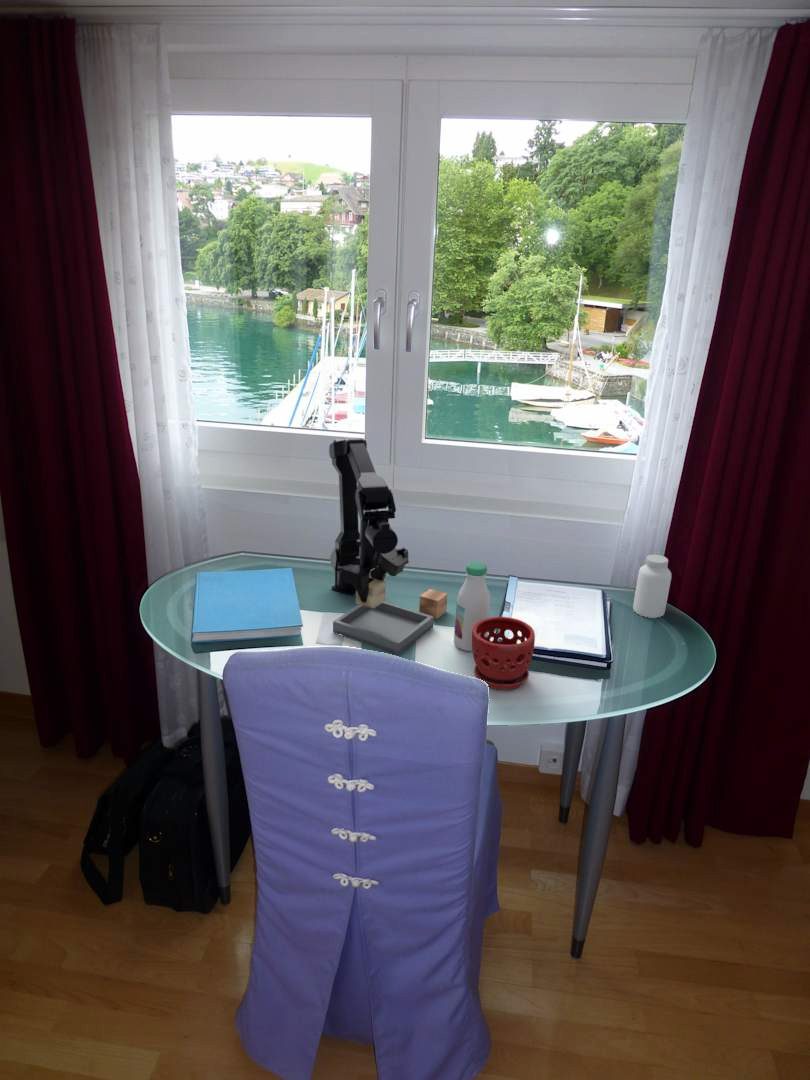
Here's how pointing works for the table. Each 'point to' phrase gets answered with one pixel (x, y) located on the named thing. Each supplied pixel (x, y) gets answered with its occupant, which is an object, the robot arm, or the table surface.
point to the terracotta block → (433, 603)
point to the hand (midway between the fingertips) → (370, 597)
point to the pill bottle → (652, 587)
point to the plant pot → (502, 652)
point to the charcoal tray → (384, 626)
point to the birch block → (374, 594)
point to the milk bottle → (471, 605)
